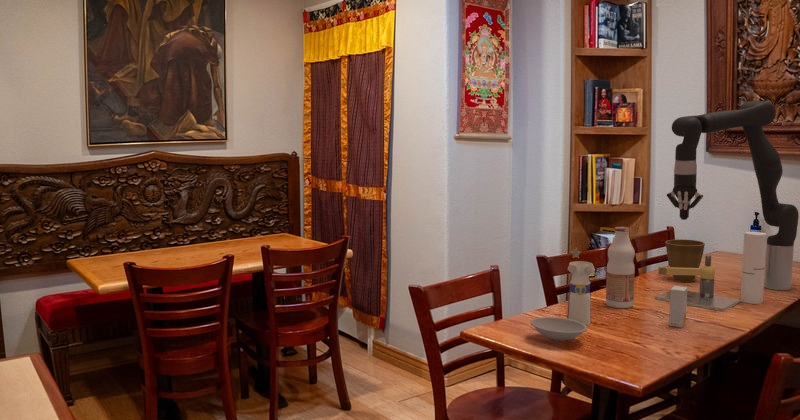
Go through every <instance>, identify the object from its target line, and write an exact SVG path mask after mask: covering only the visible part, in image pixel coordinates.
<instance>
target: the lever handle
mask: <svg viewBox="0 0 800 420" xmlns="http://www.w3.org/2000/svg"><path fill="white" fill-rule="evenodd" d="M657 273H658V275H659V276H663V275H664V276H673V275H696V276H698V277H700V278H702V279H714V280H715V278H716V277H715V274H716V266H715V265H712V264H711V266H706V265H705V264H700V267H699V268H676V267H670V266H669V267H665V266H658V272H657ZM700 278H699V279H700Z"/></svg>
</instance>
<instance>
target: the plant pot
mask: <svg viewBox="0 0 800 420" xmlns="http://www.w3.org/2000/svg"><path fill="white" fill-rule="evenodd" d="M705 244H706V243H705V242H704V241H701V240H695V239H684V238H683V239H669V240H666V241H665V249H666V250H665V251H666V255H667V260H668V263H669V264H668V265H669V267H676V268H700V267H701V263H702V260H703V255H704V251H705ZM672 277H673V280H674V281H676V282H679V283H680V282H681V283H692V282H694V281H695V278H696V275H672Z"/></svg>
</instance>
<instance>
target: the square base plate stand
mask: <svg viewBox="0 0 800 420" xmlns="http://www.w3.org/2000/svg"><path fill="white" fill-rule="evenodd" d="M704 260H705V261H704V265H706V266H711V265H712V255H707V254H706V255H705V256H704ZM714 292H715V278H714V279H702V278H699V290H698V292H696V291H692V290H691V291H690V290H687V306H690V307H695V308H702V309H707V310H711V311H717V312H724V311H726V310H727V309H730V308H732V307H734V306H736V305H739V304H741V302H742V301H741V299H738V298H732V297H727V296H720V295H715V294H714ZM670 293H671V290H669V291H666V292H663V293H661V294H658V295H655V296H654V300H657V301H658V300H659V301H663V302H668V303H670Z"/></svg>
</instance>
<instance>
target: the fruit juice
mask: <svg viewBox="0 0 800 420" xmlns="http://www.w3.org/2000/svg"><path fill="white" fill-rule="evenodd" d="M614 233H615V234H614V237H613V240H612V242H611V244H610V245H609V247H608V249H607V257H608V262H607V265H606V281H605V286H606V288H605V305H607V306H608V307H610V308H614V309H615V308H617V309H630V308H632V307H633V306H634V301H635V300H634V295H635V273H636V271H635V269H636V268H635V267H636V266H635V264H634V259H635V254H636V252H635V248H634V247H633V244H632V242H631V239H630V236H629V233H630V228H629V227H627V226H615V227H614Z"/></svg>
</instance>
